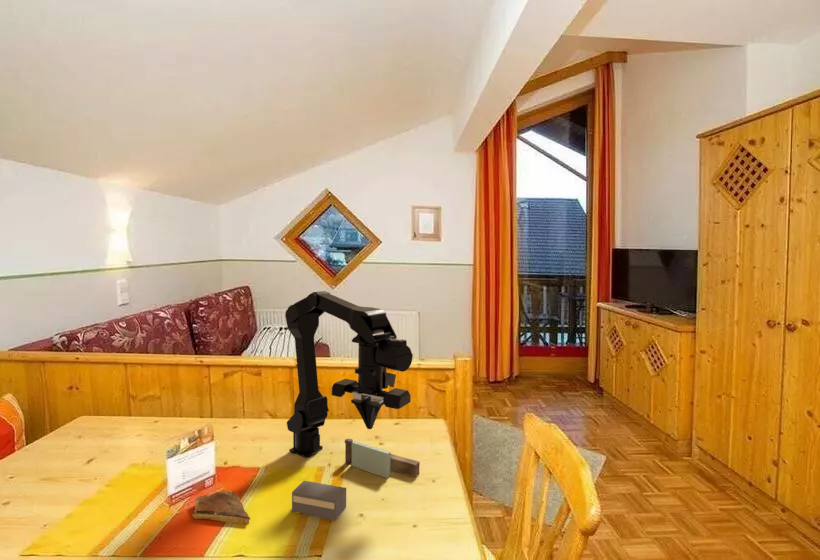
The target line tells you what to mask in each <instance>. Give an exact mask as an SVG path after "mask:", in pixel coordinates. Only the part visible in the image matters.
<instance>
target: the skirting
mask: <svg viewBox="0 0 820 560" xmlns="http://www.w3.org/2000/svg"><path fill="white" fill-rule="evenodd" d="M390 471H392V472H393V471H394V472H396V473H400V474H404V475H408V476H411V477H415V478H416V477H418V475H420V461H418V460H415V459H411V458H409V457H408V458H407V457H405V456H399V455H397V454H393V453H391V459H390Z"/></svg>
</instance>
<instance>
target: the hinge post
mask: <svg viewBox="0 0 820 560" xmlns="http://www.w3.org/2000/svg"><path fill="white" fill-rule="evenodd" d="M352 442H354V440H353V439H352V438H345V439H344V444H345V449H344V450H345V453H344V454H345V458H344V459H345V460H344V462H345V465H347V466H348V465H352Z"/></svg>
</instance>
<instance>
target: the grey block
mask: <svg viewBox="0 0 820 560" xmlns="http://www.w3.org/2000/svg"><path fill="white" fill-rule="evenodd" d="M346 508H347V487H342V486H337V485H333V484H332V485H331V484H326V483H321V482H314V481H310V480H302V482H301V483H300V484H299V485H297V487H295V488H294V489H293V490H292V492H291V512H292V511H293V512H292V513H295V512H299V513H298V514H300V513H303V514H302V515H306V514H307V515H306V516H311V517H315V518H320V519H327V520H331V521H337V520H338V519H339V517H340V516H341V515H342V513H343V512H344V511H345V509H346Z"/></svg>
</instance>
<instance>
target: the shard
mask: <svg viewBox="0 0 820 560" xmlns="http://www.w3.org/2000/svg"><path fill="white" fill-rule="evenodd" d="M193 501H194V503H195V508H194V511H193V512H192V514H191V515H192V518H193V519H197V520H199V519H201V520H203V519H205V520H212V521H219V522H223V523H228V524H229V523H231V524H238V525H239V524H241V525H242V524H243V525H244V524H245V525H246V524H249V523H250V520H251V517H250V516H249V514H248V512H246V510H245V507H244V504H243V503H242V501H241V499H240V498H239V496H238V495H237V494H236V493H235V491H234V490H220V491H216V492H213V493H209V494H205V495H201V496H197V497H196V498H194V500H193Z"/></svg>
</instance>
